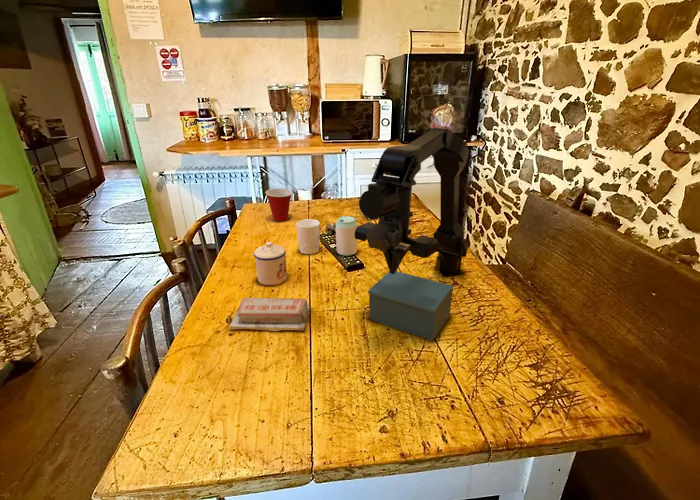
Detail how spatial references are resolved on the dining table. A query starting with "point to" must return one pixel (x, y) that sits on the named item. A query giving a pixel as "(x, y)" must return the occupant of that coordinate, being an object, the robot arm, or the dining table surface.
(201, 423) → the dining table surface
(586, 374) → the dining table surface
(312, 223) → the white cup
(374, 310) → the box
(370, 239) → the robot arm
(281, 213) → the plastic cup
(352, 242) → the can
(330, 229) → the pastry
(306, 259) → the dining table surface
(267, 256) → the teacup with lid
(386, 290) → the lid
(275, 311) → the packaged product
